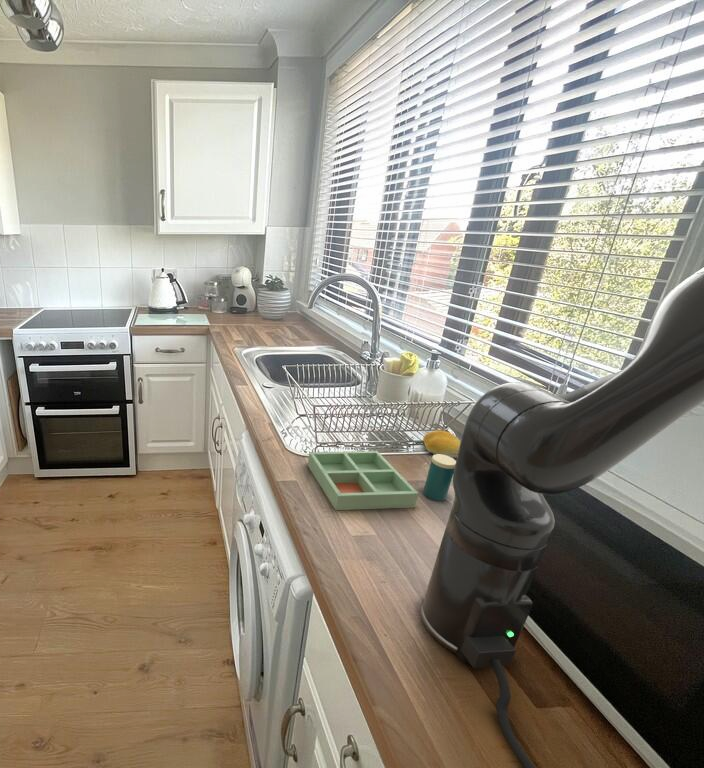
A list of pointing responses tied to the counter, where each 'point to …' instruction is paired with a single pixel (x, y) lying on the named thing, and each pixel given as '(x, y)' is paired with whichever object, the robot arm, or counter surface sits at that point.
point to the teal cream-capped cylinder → (439, 477)
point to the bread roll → (442, 443)
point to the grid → (361, 480)
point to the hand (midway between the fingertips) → (495, 451)
